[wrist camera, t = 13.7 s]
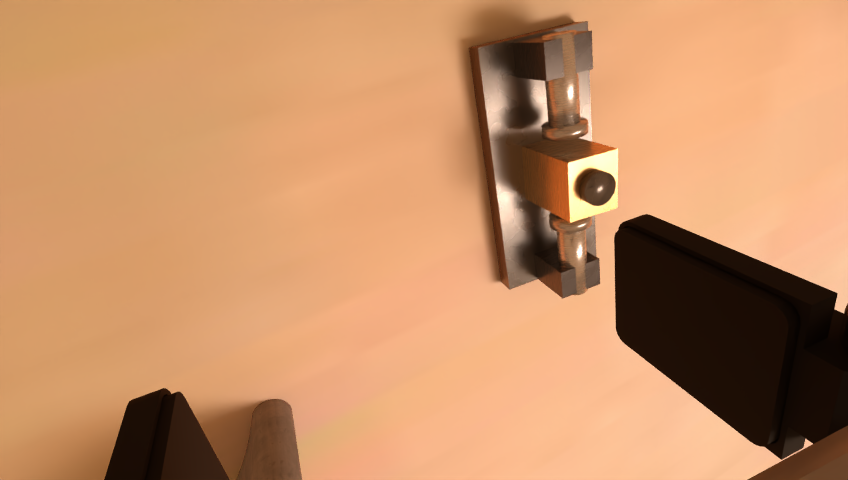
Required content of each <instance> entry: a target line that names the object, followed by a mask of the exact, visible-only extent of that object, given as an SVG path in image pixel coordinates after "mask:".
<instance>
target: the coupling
mask: <svg viewBox="0 0 848 480" xmlns="http://www.w3.org/2000/svg"><path fill="white" fill-rule="evenodd" d="M522 155H523V168H524V182H525V195H526V199H527V200H529V201H531V202H533V203H534V204H536V205H538V206H540V207H542V208H544V209H545V210H547V211H549V212H551V213H553V214H555V215H556V216H558V217H560V218H562V219H564V220H566V221H568V222H569V223H571V222H574V221H577V220H581V219H584V218H587V217H590V216H593V215H596V214H599V213H602V212H605V211H609V210H612V209H615V208H617V182H618V149H617V148H613V147H609V146H606V145H602V144H599V143H595V142H592V141H588V140H584V139H581V138H577V139H572V140H566V141H548V140H543V141H540V142H536V143H532V144H528V145H525V146H522Z"/></svg>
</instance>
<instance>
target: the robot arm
mask: <svg viewBox="0 0 848 480" xmlns="http://www.w3.org/2000/svg"><path fill="white" fill-rule="evenodd" d="M614 243H615V302H616V331H617V334H618V336H619V337H620V339H621V340H622V341H623V342H624V343H625V344H626V345H627V346H628V347H630V348H631V349H632V350H634V351H635V352H636V353H637V354H639V355H640V356H641V357H643V358H644V359H645V360H646V361H648V362H649V363H650V364H652V365H653V366H654V367H655V368H657V369H658V370H659V371H661V372H662V373H663V374H664V375H666V376H667V377H668V378H670V379H671V380H672V381H673V382H675V383H676V384H677V385H678V386H680V387H681V388H682V389H684V390H685V391H686V392H687V393H689V394H690V395H691V396H693V397H694V398H695V399H696V400H698V401H699V402H700V403H702V404H703V405H704V406H705V407H707V408H708V409H709V410H711V411H712V412H713V413H714V414H716V415H717V416H718V417H720V418H721V419H722V420H723V421H725V422H726V423H727V424H729V425H730V426H731V427H732V428H734V429H735V430H736V431H738V432H739V433H740V434H741V435H743V436H744V437H745V438H747V439H748V440H749V441H750V442H752V443H754V444H755V445H758V446H764V447H766V448H767V449H768V450H770V451H771V452H772V453H773V454H775V455H776V456H777V457H779V458H780V459H781V460H782V459H784V458H785V457H787V456H789V455H791V454H793V453H794V452H796V451H798V450H800V449H802V448H803V446H804V442H805V438H806V439H807V440H809V441H810V442H812V443H813V445H811V446H809V447H807V448H805V449H803V450H802V451H800V452H798V453H796V454H794V455H792V456H790V457H789V458H787V459H785V460H783V461H781V462H779V463H778V464H776V465H774V466H772V467H770V468H768V469H766V470H765V471H763V472H761V473H759V474H757V475H755V476H753V477H752V478H750V479H748V480H848V304H847V306H846V308H845V312H844V314H843V313H841V312H839V311H837V310H834V307H835V303H836V298H837V294H838V293H836V292H833V291H831V290H828V289H826V288H824V287H821V286H819V285H816V284H814V283H812V282H809V281H807V280H805V279H802V278H800V277H797V276H795V275H793V274H790V273H788V272H785V271H783V270H781V269H778V268H776V267H773V266H771V265H769V264H766V263H764V262H761V261H759V260H757V259H754V258H752V257H749V256H747V255H745V254H742V253H740V252H738V251H735V250H733V249H730V248H728V247H726V246H723V245H721V244H718V243H716V242H714V241H711V240H709V239H706V238H704V237H702V236H699V235H697V234H694V233H692V232H690V231H687V230H685V229H682V228H680V227H678V226H675V225H673V224H671V223H668V222H666V221H663V220H661V219H659V218H656V217H654V216H651V215H647V214H646V215H642V216H639V217H636V218H633V219H630V220H628V221H625V222H623V223H622V224H620V227H619V230H618V231H617V232H616V234H615V238H614ZM104 480H229V478H228V476H227V474H226V473H225V471H224V469H223V467H222V465H221V463H220V461H219V460H218V458H217V456H216V454H215V452H214V450H213V449H212V447H211V445H210V443H209V441H208V439H207V438H206V436H205V434H204V432H203V430H202V428H201V426H200V425H199V423H198V421H197V419H196V417H195V415H194V414H193V412H192V410H191V408H190V406H189V404H188V403H187V401H186V399H185V397H184V396H183V394H182V393H181V392H176V393H173V394H171V393H170V391H168V390H167V389H165V388H163V389H160V390H158V391H155V392H152V393H149V394H147V395H144V396H141V397H138V398H136V399H133V400H131V401H129V403H128V405H127V408H126V411H125V414H124V418H123V421H122V424H121V427H120V431H119V434H118V437H117V440H116V444H115V447H114V450H113V453H112V457H111V460H110V463H109V466H108V470H107V473H106V476H105V479H104Z"/></svg>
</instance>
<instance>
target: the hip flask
mask: <svg viewBox="0 0 848 480" xmlns="http://www.w3.org/2000/svg"><path fill="white" fill-rule="evenodd" d="M237 480H302V476H301V470H300V463H299V456H298V449H297V442H296V435H295V428H294V421H293V414H292V409H291V407H290V405H289V404H288V403H287V402H285V401H283V400H279V399H272V400H268V401H265V402H263V403H261V404H260V405H259V406H258V407H256V409H255V410H254V412H253V415H252V424H251V431H250V437H249V441H248V446H247V450H246V454H245V457H244V460H243V463H242V466H241V469H240V472H239V474H238V477H237Z"/></svg>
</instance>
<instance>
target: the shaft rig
mask: <svg viewBox="0 0 848 480" xmlns="http://www.w3.org/2000/svg"><path fill="white" fill-rule="evenodd" d="M469 52H470V59H471V66H472V74H473V81H474V88H475V95H476V103H477V110H478V117H479V124H480V131H481V139H482V146H483V153H484V160H485V168H486V175H487V182H488V189H489V196H490V204H491V211H492V218H493V225H494V233H495V240H496V247H497V254H498V261H499V269H500V276H501V282H502V283H503V284H504V285H505V286H506V287H507V288H508V289H512V288H515V287H518V286H520V285H523V284H526V283H528V282H531V281H534V280H536V279H539V280H540V281H541V282H543V283H544V284H545V285H546V286H548V287H549V288H550V289H551V290H553V291H554V292H555V293H557V294H558V295H559V296H560V297H562V298H565V297H568V296H570V295H580V294H583V293H585V292H586V291H587V290H588V288H591V287H593V286H596V285H598V284H600V267H599V258H597V257H596V236H595V215H593V216H590V217H587V218H584V219H581V220H577V221H574V222H571V223H569V222H568V221H566V220H564V219H562V218H560V217H558V216H556V215H555V214H553V213H551V212H549V211H547V210H545V209H544V208H542V207H540V206H538V205H536V204H534V203H533V202H531V201H529V200H527V199H526V195H525V182H524V168H523V155H522V146H525V145H528V144H532V143H536V142H540V141H543V140H548V141H566V140H572V139H577V138H581V139H584V140H588V141H592V126H591V98H590V71H589V70H590V69H593V57H592V31H588V21H585V22H574V23H570V24H565V25H561V26H557V27H553V28H549V29H545V30H540V31H536V32H532V33H528V34H524V35H519V36H515V37H511V38H507V39H503V40H499V41H494V42H490V43H486V44H482V45H478V46H474V47H469Z"/></svg>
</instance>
